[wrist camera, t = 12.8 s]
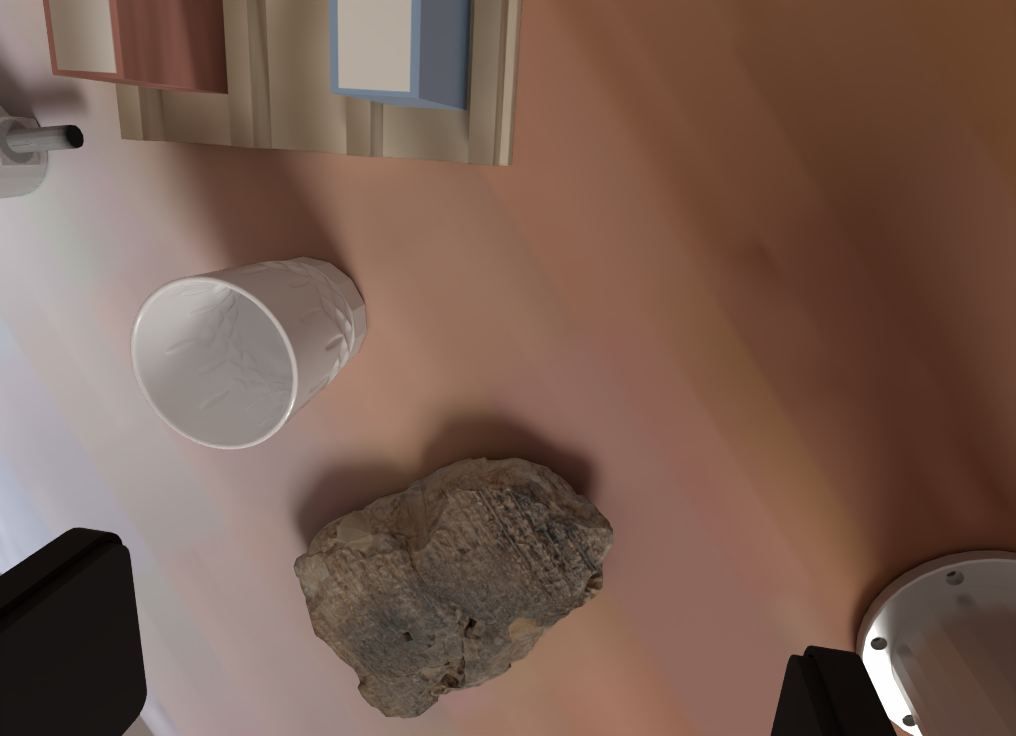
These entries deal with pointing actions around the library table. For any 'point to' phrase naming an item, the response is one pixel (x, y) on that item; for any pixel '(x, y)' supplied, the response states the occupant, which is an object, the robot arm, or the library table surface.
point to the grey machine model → (29, 151)
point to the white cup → (244, 347)
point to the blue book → (401, 51)
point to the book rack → (276, 78)
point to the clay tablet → (452, 578)
